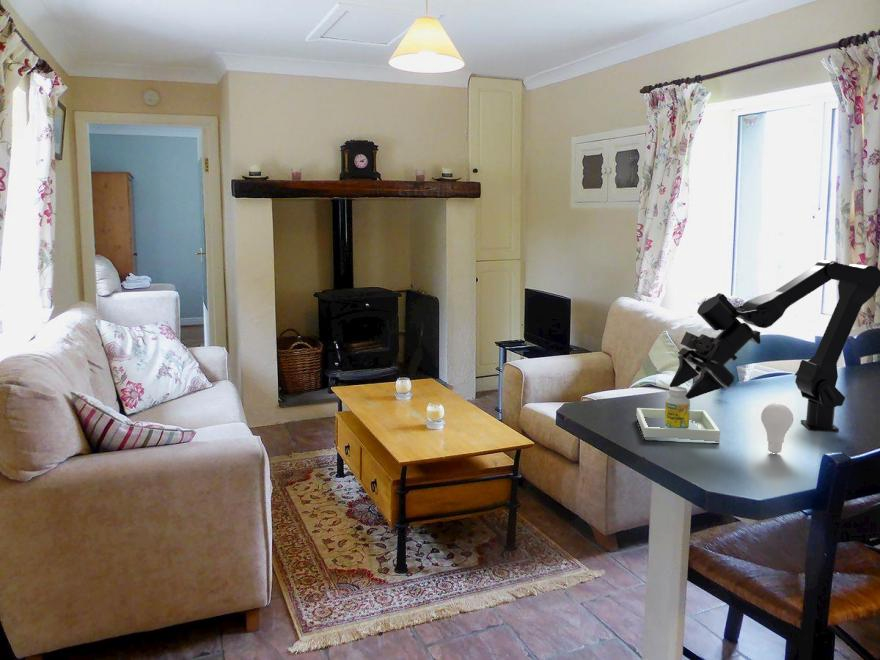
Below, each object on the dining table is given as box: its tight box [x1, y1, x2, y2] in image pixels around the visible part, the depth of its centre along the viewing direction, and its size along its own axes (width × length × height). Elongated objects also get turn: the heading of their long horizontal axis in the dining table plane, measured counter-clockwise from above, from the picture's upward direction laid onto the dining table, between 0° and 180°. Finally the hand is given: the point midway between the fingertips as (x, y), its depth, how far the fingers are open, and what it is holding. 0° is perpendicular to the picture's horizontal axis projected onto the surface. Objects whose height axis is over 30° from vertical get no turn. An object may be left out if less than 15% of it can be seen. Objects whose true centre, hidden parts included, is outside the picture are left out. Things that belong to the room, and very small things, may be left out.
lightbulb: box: [760, 402, 794, 454], centre depth 149 cm, size 6×6×11 cm
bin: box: [636, 407, 721, 443], centre depth 165 cm, size 16×16×3 cm
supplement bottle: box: [664, 386, 691, 429], centre depth 165 cm, size 5×5×10 cm
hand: (678, 392), depth 164 cm, fingers open, 9 cm apart
